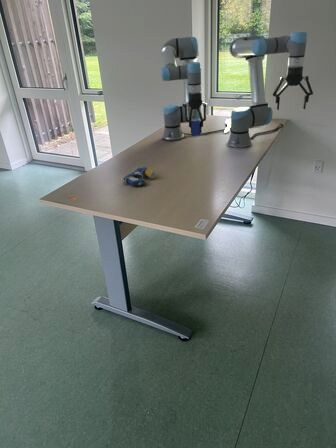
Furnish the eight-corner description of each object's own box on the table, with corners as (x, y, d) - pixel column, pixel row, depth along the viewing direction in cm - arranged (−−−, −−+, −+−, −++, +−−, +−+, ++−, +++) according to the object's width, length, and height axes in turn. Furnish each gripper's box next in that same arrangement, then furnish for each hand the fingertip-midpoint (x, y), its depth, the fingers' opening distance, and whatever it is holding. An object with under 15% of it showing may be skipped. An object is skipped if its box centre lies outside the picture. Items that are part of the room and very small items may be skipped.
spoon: (232, 135, 248) (232, 132, 246) (218, 134, 251) (218, 132, 250) (241, 119, 274) (241, 117, 273) (228, 119, 278) (228, 117, 276)
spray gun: (161, 173, 192) (139, 170, 198) (160, 166, 189) (138, 164, 196) (143, 189, 176) (120, 186, 183) (142, 181, 174) (118, 179, 180)
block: (191, 135, 202) (191, 121, 198) (193, 132, 207) (192, 118, 203) (199, 135, 201) (199, 121, 197) (200, 132, 206) (200, 118, 202)
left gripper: (178, 94, 190) (180, 134, 203) (209, 93, 186) (210, 134, 199) (180, 91, 196) (182, 130, 209) (211, 90, 193) (211, 130, 205)
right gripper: (270, 68, 171) (267, 111, 182) (323, 65, 166) (316, 109, 177) (269, 66, 177) (266, 108, 188) (320, 63, 172) (314, 106, 183)
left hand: (196, 132), depth 204 cm, fingers closed on block, 5 cm apart
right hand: (290, 109), depth 182 cm, fingers open, 13 cm apart
